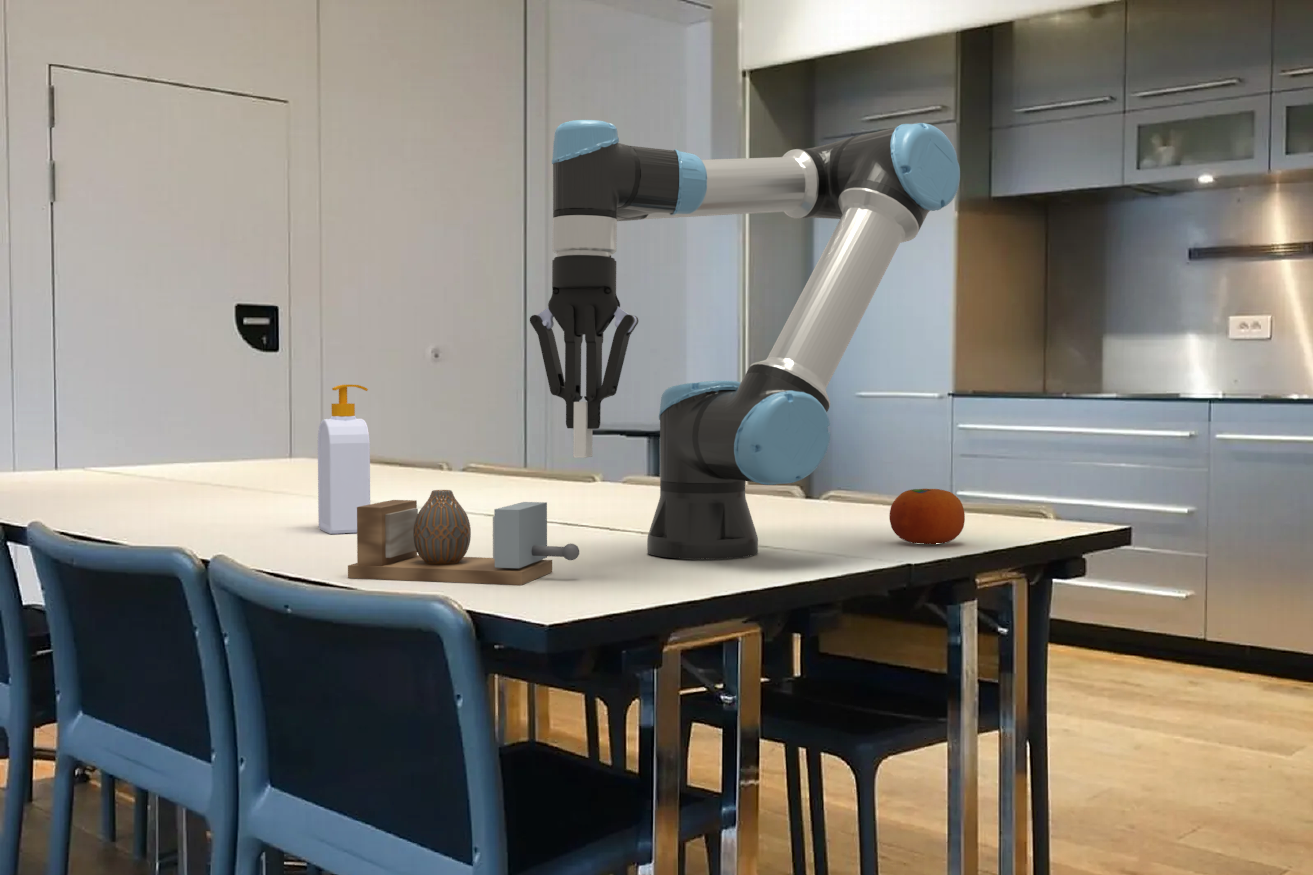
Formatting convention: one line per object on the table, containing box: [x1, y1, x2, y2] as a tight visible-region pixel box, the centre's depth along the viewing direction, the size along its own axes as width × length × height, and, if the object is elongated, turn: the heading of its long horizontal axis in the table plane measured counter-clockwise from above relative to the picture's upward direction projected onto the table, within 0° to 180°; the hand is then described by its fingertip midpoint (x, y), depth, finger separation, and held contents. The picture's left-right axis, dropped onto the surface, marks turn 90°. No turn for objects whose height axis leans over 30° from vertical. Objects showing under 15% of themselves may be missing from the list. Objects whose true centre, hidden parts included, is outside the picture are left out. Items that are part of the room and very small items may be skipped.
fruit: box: [888, 488, 966, 545], centre depth 198 cm, size 11×10×8 cm
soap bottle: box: [317, 384, 371, 535], centre depth 214 cm, size 9×7×23 cm
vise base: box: [347, 499, 553, 586], centre depth 166 cm, size 22×11×8 cm, turn 76°
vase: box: [413, 489, 472, 564], centre depth 167 cm, size 7×7×9 cm
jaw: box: [492, 501, 580, 568], centre depth 163 cm, size 9×10×7 cm
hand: (582, 456), depth 162 cm, fingers closed
